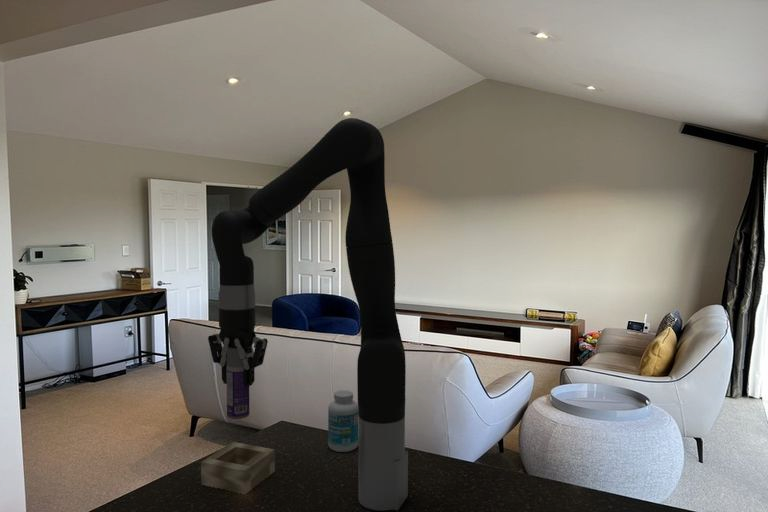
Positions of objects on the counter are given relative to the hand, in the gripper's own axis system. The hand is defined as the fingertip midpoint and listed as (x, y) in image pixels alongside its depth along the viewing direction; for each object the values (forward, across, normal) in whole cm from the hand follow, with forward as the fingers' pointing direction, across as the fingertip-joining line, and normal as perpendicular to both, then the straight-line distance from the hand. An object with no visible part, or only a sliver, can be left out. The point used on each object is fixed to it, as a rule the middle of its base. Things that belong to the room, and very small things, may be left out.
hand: (237, 383), depth 117 cm
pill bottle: (+21, -14, -23) cm, 34 cm away
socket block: (+21, 0, 0) cm, 21 cm away
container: (+7, 0, 0) cm, 7 cm away
